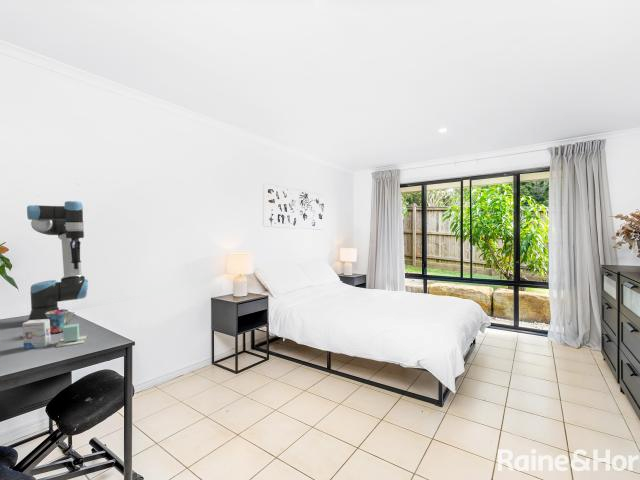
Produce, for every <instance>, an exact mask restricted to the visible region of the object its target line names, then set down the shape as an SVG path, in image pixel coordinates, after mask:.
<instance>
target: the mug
mask: <svg viewBox="0 0 640 480" xmlns="http://www.w3.org/2000/svg"><path fill="white" fill-rule="evenodd" d="M71 313H72V314H73V316H72V317H71V319H70V320H68V321H67V318H66V317H68V315H70V314H71ZM45 314H46V316H47V318H48V319H49V320H50V334H58V333H61V332H62V333H63V328H64V326H65V325H69V322H71V321H72V320H73V319H74V318H75V312H73V311H70V312H69V310H68V309H63V308H62V309H59V310H54V311H49V312H46V313H45Z"/></svg>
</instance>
